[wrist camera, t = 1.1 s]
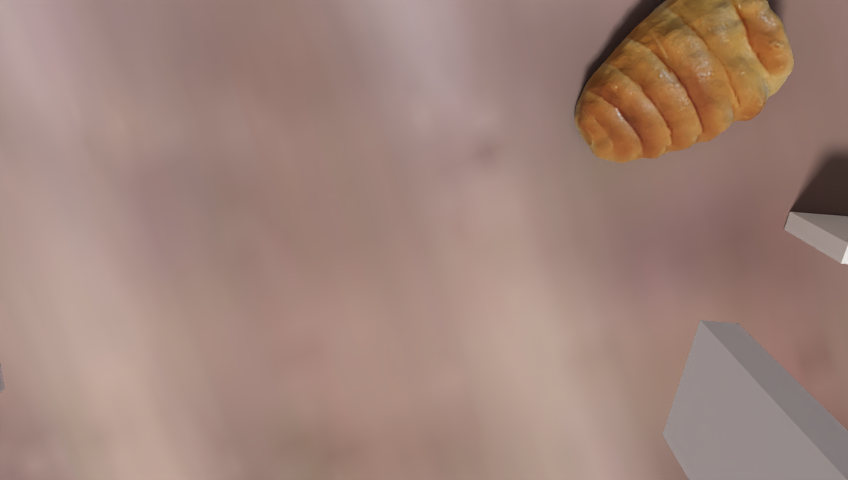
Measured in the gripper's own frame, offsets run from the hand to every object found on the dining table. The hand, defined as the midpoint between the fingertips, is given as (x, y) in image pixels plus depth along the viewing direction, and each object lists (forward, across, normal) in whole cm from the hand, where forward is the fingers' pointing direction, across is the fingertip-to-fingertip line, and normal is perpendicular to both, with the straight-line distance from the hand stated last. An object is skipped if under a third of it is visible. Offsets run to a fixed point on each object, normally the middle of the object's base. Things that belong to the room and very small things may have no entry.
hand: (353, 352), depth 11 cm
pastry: (+20, +14, +4) cm, 25 cm away
